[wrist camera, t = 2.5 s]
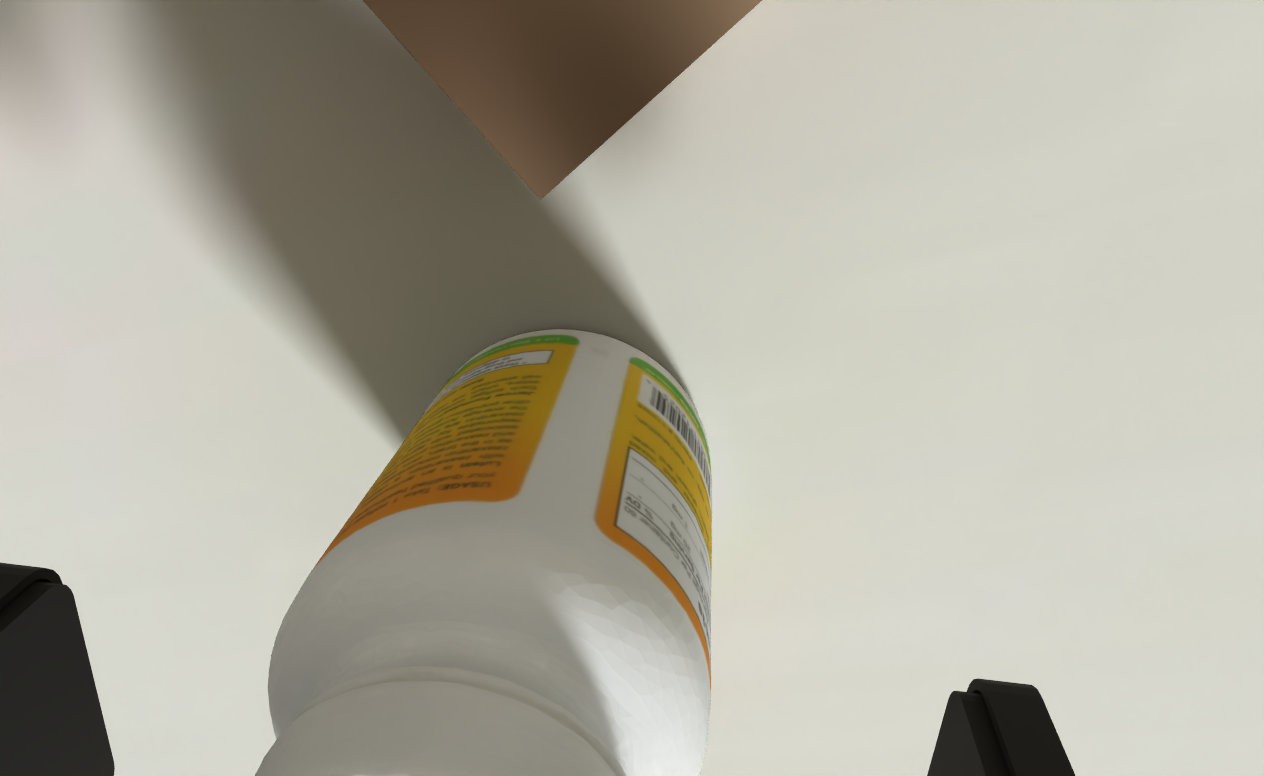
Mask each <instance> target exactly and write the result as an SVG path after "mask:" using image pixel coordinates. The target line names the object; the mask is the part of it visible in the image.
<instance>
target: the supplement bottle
mask: <svg viewBox="0 0 1264 776" xmlns="http://www.w3.org/2000/svg"><path fill="white" fill-rule="evenodd" d="M711 523H712V479H711V465H710V455H709V447H708V442H707V438H706V434H705V431H704V428H703V425H702V422H701V420H700V417H699V415H698V413H697V411H696V409H695V407H694V405H693V403H692V402H691V400H690V398H689V397H688V395H687V394H686V392H685V391H684V390H683V388H682V387H681V386H680V385H679V383H678V382H677V381H676V380H675V379H674V378H673V376H672V375H671V374H670V373H669V372H668V371H666V370H665V369H664V368H663V367H662V366H661V365H660V364H658V363H657V362H656V361H655V360H653V359H652V358H650V357H649V356H648V355H646V354H645V353H643V352H641V351H640V350H638V349H636V348H634V347H632V346H631V345H628V344H626V343H624V342H621V341H619V340H617V339H614V338H611V337H608V336H605V335H601V334H597V333H593V332H587V331H580V330H569V329H550V330H542V331H534V332H528V333H523V334H520V335H516V336H513V337H510V338H507V339H504V340H502V341H499V342H497V343H495V344H493V345H491V346H489V347H487V348H485V349H484V350H482V351H481V352H479V353H477V354H476V355H475V356H473V357H472V358H471V359H469V360H468V361H467V362H466V363H465V364H464V365H463V366H461V367H460V368H459V369H458V370H457V371H456V372H455V373H454V375H453V376H452V377H451V378H450V379H449V380H448V382H447V383H446V384H445V385H444V386H443V388H442V389H441V390H440V392H439V393H438V394H437V396H436V397H435V399H434V400H433V402H432V403H431V404H430V405H429V407H428V408H427V410H426V411H425V412H424V414H423V416H422V417H421V419H420V420H419V421H418V423H417V424H416V425H415V427H414V428H413V430H412V431H411V432H410V434H409V435H408V437H407V438H406V439H405V441H404V442H403V444H402V445H401V447H400V448H399V449H398V451H397V452H396V454H395V455H394V456H393V458H392V459H391V461H390V462H389V463H388V465H387V466H386V467H385V469H384V470H383V472H382V473H381V474H380V476H379V477H378V479H377V480H376V481H375V483H374V484H373V486H372V487H371V488H370V490H369V491H368V493H367V494H366V495H365V497H364V498H363V500H362V501H361V502H360V504H359V505H358V507H357V508H356V509H355V511H354V512H353V514H352V515H351V516H350V518H349V519H348V520H347V522H346V523H345V525H344V526H343V528H342V529H341V530H340V532H339V533H338V535H337V536H336V537H335V539H334V540H333V541H332V543H331V544H330V546H329V547H328V548H327V550H326V551H325V553H324V554H323V556H322V557H321V558H320V560H319V561H318V563H317V564H316V566H315V567H314V568H313V570H312V571H311V573H310V574H309V576H308V577H307V579H306V581H305V582H304V584H303V586H302V587H301V589H300V591H299V592H298V594H297V596H296V597H295V599H294V601H293V603H292V604H291V606H290V608H289V610H288V611H287V613H286V615H285V616H284V619H283V621H282V624H281V626H280V629H279V631H278V634H277V636H276V640H275V644H274V647H273V651H272V655H271V661H270V668H269V678H268V694H269V706H270V713H271V718H272V723H273V728H274V732H275V735H276V739H277V740H276V741H275V743H274V744H273V746H272V747H271V749H270V750H269V751H268V753H267V754H266V756H265V757H264V759H263V761H262V763H261V765H260V767H259V769H258V771H257V773H256V775H255V776H699V774H700V770H701V767H702V763H703V759H704V755H705V750H706V745H707V740H708V727H709V714H710V701H711V554H712V536H711Z"/></svg>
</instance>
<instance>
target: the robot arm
mask: <svg viewBox="0 0 1264 776" xmlns="http://www.w3.org/2000/svg"><path fill="white" fill-rule="evenodd" d="M0 776H114V761H113V756H112V752H111V748H110V744H109V740H108V736H107V732H106V728H105V723H104V719H103V715H102V711H101V707H100V703H99V699H98V694H97V690H96V686H95V682H94V678H93V674H92V670H91V666H90V661H89V657H88V653H87V649H86V645H85V641H84V637H83V633H82V628H81V624H80V620H79V616H78V612H77V608H76V604H75V599H74V596H73V593H72V591H71V589H70V588H69V587H68V586H67V585H63V584H62V581H61V579H60V577H59V575H58V574H57V573H56V572H55V571H54V570H51V569H47V568H40V567H31V566H23V565H14V564H6V563H0ZM927 776H1075V774H1074V771H1073V769H1072V767H1071V764H1070V762H1069V760H1068V757H1067V755H1066V753H1065V750H1064V748H1063V746H1062V743H1061V741H1060V739H1059V736H1058V734H1057V732H1056V729H1055V727H1054V725H1053V722H1052V720H1051V718H1050V715H1049V713H1048V711H1047V708H1046V706H1045V704H1044V701H1043V699H1042V697H1041V695H1040V693H1039V691H1038V690H1037V689H1036V688H1035V687H1034V686H1032V685H1027V684H1019V683H1010V682H1002V681H993V680H985V679H974V680H973V681H972V682H971V683H970V685H969V687H968V690H967V692H960V691H953V692H952V693H951V695H950V697H949V700H948V703H947V706H946V710H945V714H944V717H943V721H942V724H941V728H940V732H939V735H938V739H937V742H936V746H935V750H934V753H933V757H932V760H931V764H930V768H929V771H928V775H927Z"/></svg>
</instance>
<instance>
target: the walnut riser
mask: <svg viewBox="0 0 1264 776" xmlns="http://www.w3.org/2000/svg"><path fill="white" fill-rule="evenodd" d="M363 1H364V2H365V3H366V4H367V5H368V7H369V8H370V9H371V10H372V11H373V12H374V13H375V14H376V16H377V17H378V18H379V19H380V20H381V21H382V22H383V24H384V25H385V26H386V27H387V28H388V29H389V30H390V31H391V33H392V34H393V35H394V36H395V37H396V38H397V39H398V40H399V42H400V43H401V44H402V45H403V46H404V47H405V48H406V49H407V51H408V52H409V53H410V54H411V55H412V56H413V57H414V58H415V60H416V61H417V62H418V63H419V64H420V65H421V66H422V67H423V69H424V70H425V71H426V72H427V73H428V74H429V75H430V76H431V78H432V79H433V80H434V81H435V82H436V83H437V84H438V85H439V87H440V88H441V89H442V90H443V91H444V92H445V93H446V94H447V96H448V97H449V98H450V99H451V100H452V101H453V102H454V103H455V105H456V106H457V107H458V108H459V109H460V110H461V111H462V112H463V114H464V115H465V116H466V117H467V118H468V119H469V120H470V121H471V123H472V124H473V125H474V126H475V127H476V128H477V129H478V130H479V132H480V133H481V134H482V135H483V136H484V137H485V138H486V139H487V141H488V142H489V143H490V144H491V145H492V146H493V147H494V148H495V150H496V151H497V152H498V153H499V154H500V155H501V156H502V157H503V159H504V160H505V161H506V162H507V163H508V164H509V165H510V166H511V168H512V169H513V170H514V171H515V172H516V173H517V174H518V175H519V177H520V178H521V179H522V180H523V181H524V182H525V183H526V184H527V186H528V187H529V188H530V189H531V190H532V191H533V192H534V193H535V195H536V196H537V197H538V198H539V199H540V200H541V199H542V198H543V197H544V196H545V195H546V194H548V193H549V192H550V191H551V190H552V189H553V188H554V187H555V186H556V185H558V184H559V183H560V182H561V181H562V180H563V179H564V178H565V177H566V176H568V175H569V174H570V173H571V172H572V171H573V170H574V169H575V168H576V167H578V166H579V165H580V164H581V163H582V162H583V161H584V160H585V159H586V158H588V157H589V156H590V155H591V154H592V153H593V152H594V151H595V150H596V149H598V148H599V147H600V146H601V145H602V144H603V143H604V142H605V141H606V140H608V139H609V138H610V137H611V136H612V135H613V134H614V133H615V132H616V131H618V130H619V129H620V128H621V127H622V126H623V125H624V124H625V123H626V122H627V121H629V120H630V119H631V118H632V117H633V116H634V115H635V114H636V113H637V112H639V111H640V110H641V109H642V108H643V107H644V106H645V105H646V104H647V103H649V102H650V101H651V100H652V99H653V98H654V97H655V96H656V95H657V94H659V93H660V92H661V91H662V90H663V89H664V88H665V87H666V86H667V85H669V84H670V83H671V82H672V81H673V80H674V79H675V78H676V77H677V76H679V75H680V74H681V73H682V72H683V71H684V70H685V69H686V68H687V67H689V66H690V65H691V64H692V63H693V62H694V61H695V60H696V59H697V58H699V57H700V56H701V55H702V54H703V53H704V52H705V51H706V50H707V49H708V48H710V47H711V46H712V45H713V44H714V43H715V42H716V41H717V40H718V39H720V38H721V37H722V36H723V35H724V34H725V33H726V32H727V31H728V30H730V29H731V28H732V27H733V26H734V25H735V24H736V23H737V22H738V21H740V20H741V19H742V18H743V17H744V16H745V15H746V14H747V13H748V12H750V11H751V10H752V9H753V8H754V7H755V6H756V5H757V4H758V3H760V2H761V1H762V0H363Z"/></svg>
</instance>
